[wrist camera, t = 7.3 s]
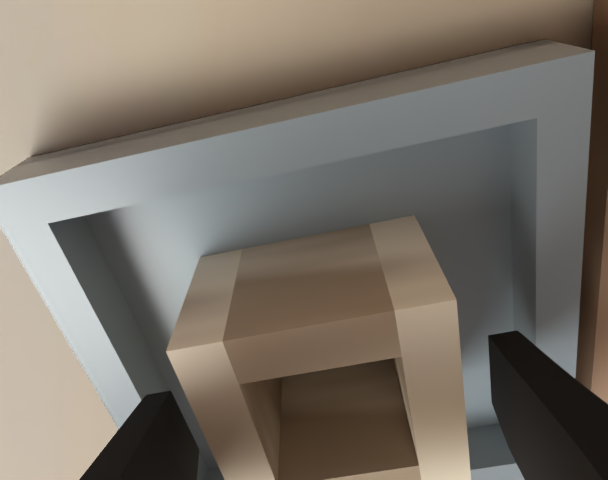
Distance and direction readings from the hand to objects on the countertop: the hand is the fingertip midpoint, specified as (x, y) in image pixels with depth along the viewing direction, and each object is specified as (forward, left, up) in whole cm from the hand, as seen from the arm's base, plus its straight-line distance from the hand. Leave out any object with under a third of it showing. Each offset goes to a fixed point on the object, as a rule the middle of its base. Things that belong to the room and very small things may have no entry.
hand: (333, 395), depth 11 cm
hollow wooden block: (0, 0, -2) cm, 3 cm away
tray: (0, 0, -3) cm, 3 cm away
